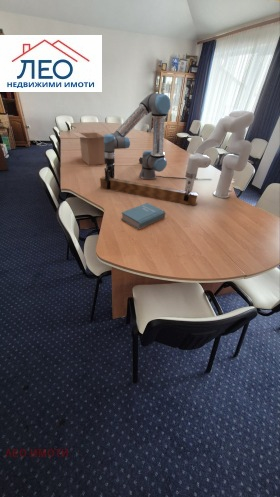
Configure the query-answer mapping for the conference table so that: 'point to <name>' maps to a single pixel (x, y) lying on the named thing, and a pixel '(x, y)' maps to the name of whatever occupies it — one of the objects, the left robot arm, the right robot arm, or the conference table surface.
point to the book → (142, 215)
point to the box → (92, 146)
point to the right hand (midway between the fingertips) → (186, 199)
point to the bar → (149, 190)
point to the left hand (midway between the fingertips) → (110, 187)
